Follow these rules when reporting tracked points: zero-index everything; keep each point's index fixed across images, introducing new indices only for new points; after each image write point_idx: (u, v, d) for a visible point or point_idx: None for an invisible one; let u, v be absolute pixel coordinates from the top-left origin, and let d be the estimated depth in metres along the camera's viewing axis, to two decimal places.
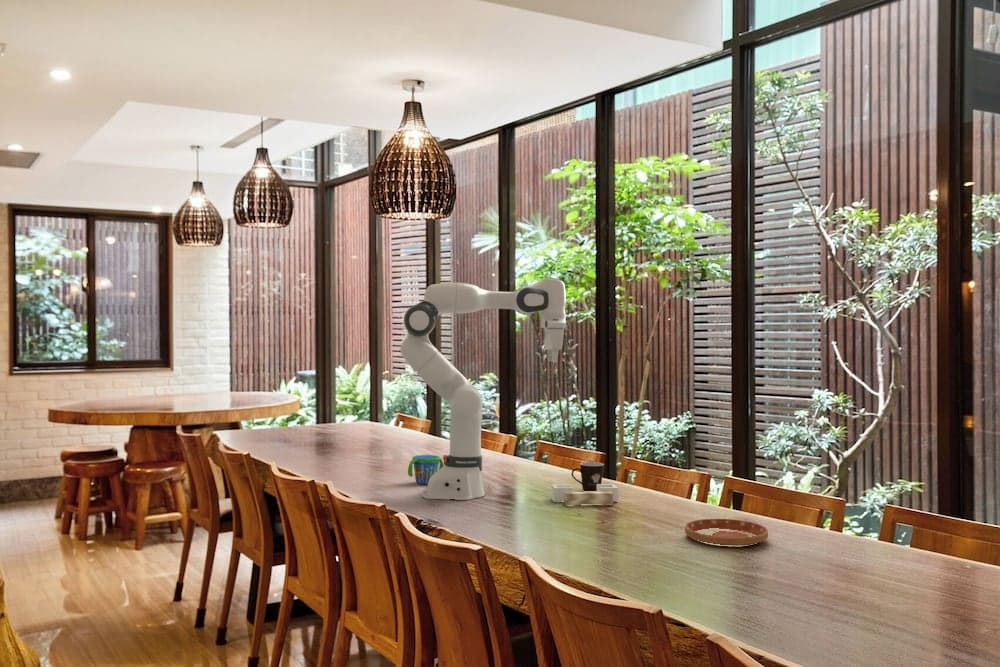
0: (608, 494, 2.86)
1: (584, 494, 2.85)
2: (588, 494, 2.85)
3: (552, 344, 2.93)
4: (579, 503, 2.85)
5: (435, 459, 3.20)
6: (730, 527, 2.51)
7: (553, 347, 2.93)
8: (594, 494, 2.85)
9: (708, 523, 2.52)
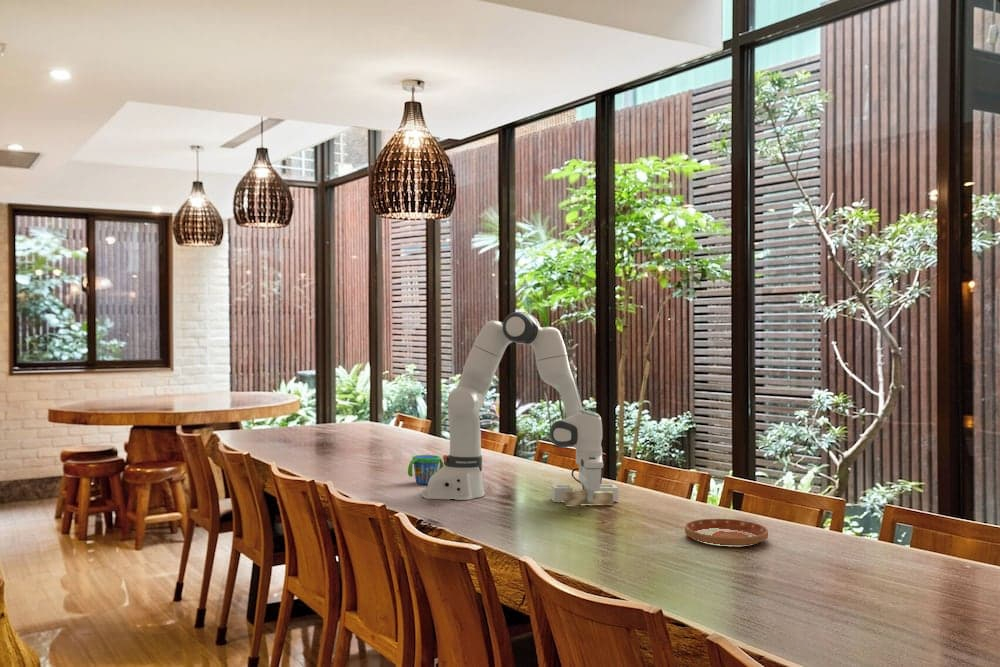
0: (608, 493, 2.86)
1: (584, 493, 2.85)
2: None
3: (589, 486, 2.76)
4: (579, 502, 2.85)
5: (435, 459, 3.20)
6: (730, 527, 2.51)
7: (590, 489, 2.77)
8: (594, 493, 2.85)
9: (708, 523, 2.52)
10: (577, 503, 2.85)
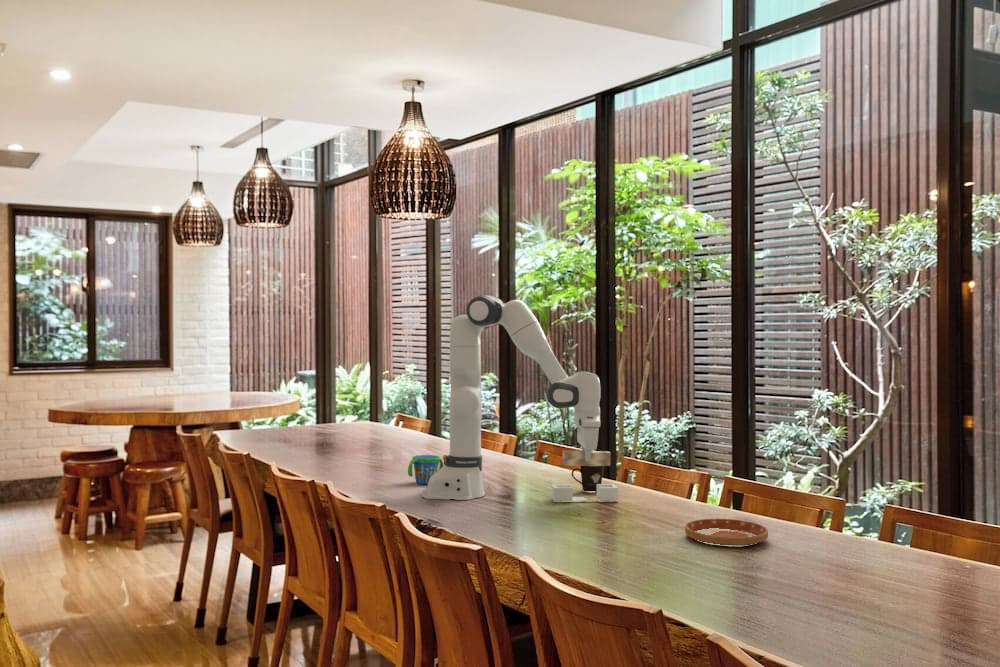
0: (606, 453, 2.89)
1: (582, 453, 2.88)
2: None
3: (586, 444, 2.80)
4: (577, 462, 2.88)
5: (435, 459, 3.20)
6: (730, 527, 2.51)
7: (587, 447, 2.80)
8: (592, 453, 2.88)
9: (708, 523, 2.52)
10: (575, 462, 2.88)
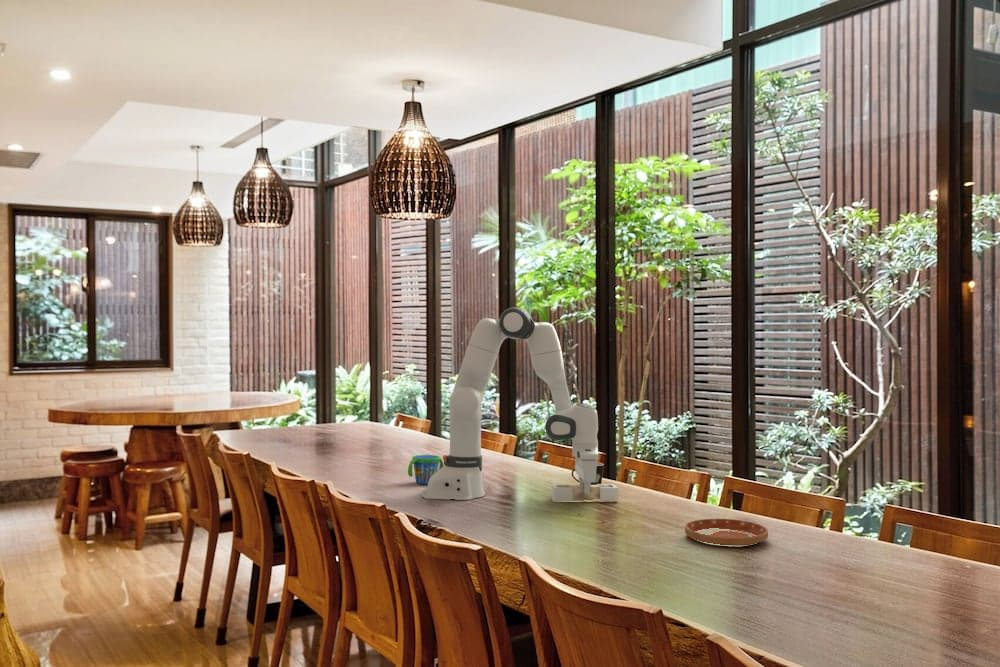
0: None
1: (580, 487, 2.92)
2: None
3: (585, 477, 2.84)
4: (575, 496, 2.92)
5: (435, 459, 3.20)
6: (730, 527, 2.51)
7: (586, 480, 2.84)
8: (590, 487, 2.93)
9: (708, 523, 2.52)
10: (573, 496, 2.92)
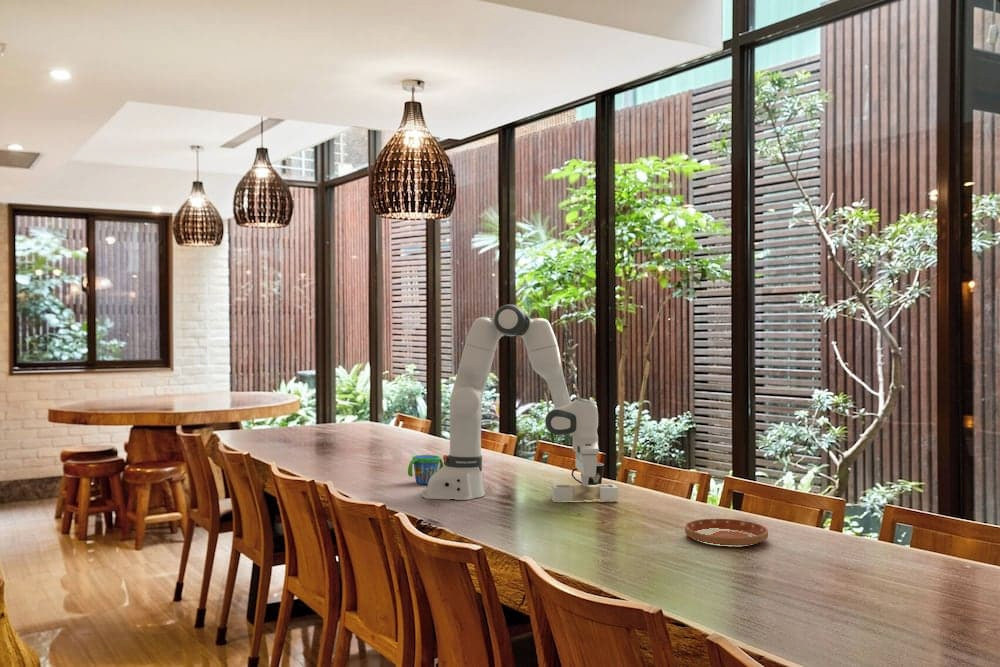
0: None
1: (580, 487, 2.92)
2: (584, 487, 2.92)
3: (585, 472, 2.84)
4: (575, 496, 2.92)
5: (435, 459, 3.20)
6: (730, 527, 2.51)
7: (586, 475, 2.84)
8: (590, 487, 2.93)
9: (708, 523, 2.52)
10: (573, 496, 2.92)
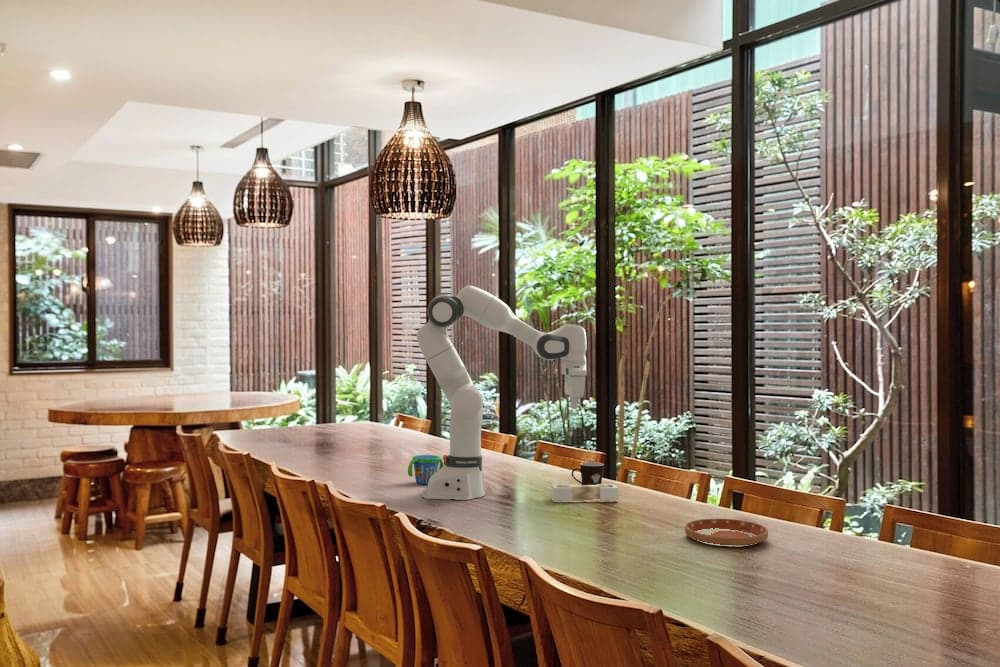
0: None
1: (580, 487, 2.92)
2: (584, 487, 2.92)
3: (573, 392, 2.91)
4: (575, 496, 2.92)
5: (435, 459, 3.20)
6: (730, 527, 2.51)
7: (574, 395, 2.91)
8: (590, 487, 2.93)
9: (708, 523, 2.52)
10: (573, 496, 2.92)
